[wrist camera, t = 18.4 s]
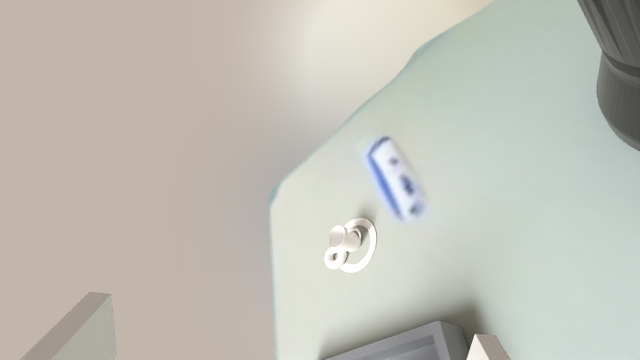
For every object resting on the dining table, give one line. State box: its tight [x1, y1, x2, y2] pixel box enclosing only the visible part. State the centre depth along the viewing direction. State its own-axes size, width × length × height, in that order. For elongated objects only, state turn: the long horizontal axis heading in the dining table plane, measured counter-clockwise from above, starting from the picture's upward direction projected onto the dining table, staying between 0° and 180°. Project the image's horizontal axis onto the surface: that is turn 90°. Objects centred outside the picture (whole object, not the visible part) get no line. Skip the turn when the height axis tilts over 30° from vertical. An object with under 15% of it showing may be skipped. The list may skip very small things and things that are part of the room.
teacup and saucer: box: [325, 218, 377, 273], centre depth 49 cm, size 9×8×4 cm
